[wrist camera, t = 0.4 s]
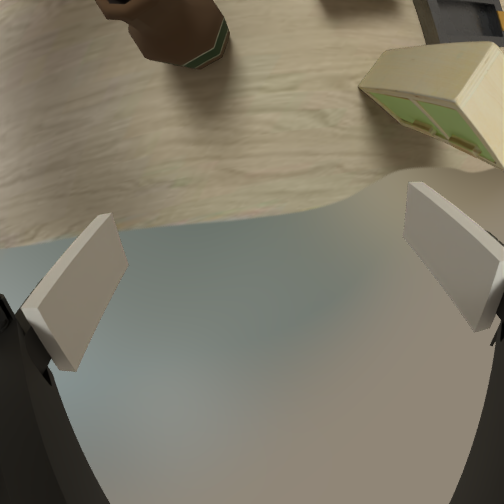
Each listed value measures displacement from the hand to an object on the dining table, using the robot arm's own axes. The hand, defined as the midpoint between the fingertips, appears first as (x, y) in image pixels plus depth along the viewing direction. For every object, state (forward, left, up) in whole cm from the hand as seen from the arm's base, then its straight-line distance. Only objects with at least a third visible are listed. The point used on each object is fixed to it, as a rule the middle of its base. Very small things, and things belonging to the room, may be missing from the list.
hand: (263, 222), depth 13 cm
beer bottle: (-13, -3, -27) cm, 30 cm away
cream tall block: (-1, +18, -27) cm, 32 cm away
